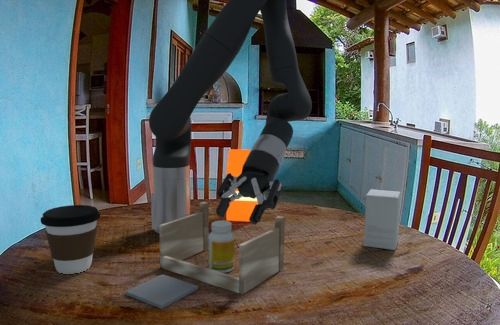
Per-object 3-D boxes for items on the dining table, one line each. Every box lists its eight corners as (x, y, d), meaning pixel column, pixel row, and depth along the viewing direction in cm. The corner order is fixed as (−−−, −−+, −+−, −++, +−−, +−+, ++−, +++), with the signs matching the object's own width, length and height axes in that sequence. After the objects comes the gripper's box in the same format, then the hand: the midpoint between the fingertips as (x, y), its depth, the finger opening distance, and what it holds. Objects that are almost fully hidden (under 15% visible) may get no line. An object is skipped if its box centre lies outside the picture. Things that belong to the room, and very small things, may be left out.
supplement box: (398, 241, 105) (402, 191, 103) (395, 251, 98) (398, 197, 96) (368, 237, 108) (370, 188, 106) (362, 246, 101) (365, 194, 99)
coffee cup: (60, 258, 91) (56, 203, 89) (110, 259, 91) (108, 204, 89) (32, 279, 80) (28, 218, 79) (89, 280, 80) (86, 219, 78)
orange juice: (231, 213, 129) (231, 147, 126) (260, 214, 127) (261, 148, 124) (226, 220, 121) (226, 150, 118) (256, 222, 120) (257, 151, 117)
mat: (125, 294, 75) (125, 291, 75) (162, 277, 82) (162, 274, 82) (161, 308, 70) (161, 305, 70) (198, 289, 77) (198, 286, 77)
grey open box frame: (159, 267, 87) (158, 215, 85) (203, 248, 98) (203, 201, 97) (244, 294, 75) (244, 234, 73) (283, 269, 87) (284, 217, 85)
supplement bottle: (202, 267, 87) (202, 222, 86) (224, 261, 90) (224, 217, 89) (218, 276, 83) (218, 228, 82) (239, 269, 86) (240, 223, 85)
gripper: (232, 146, 98) (200, 204, 90) (286, 150, 90) (256, 215, 83) (245, 166, 103) (216, 222, 96) (297, 171, 95) (270, 234, 88)
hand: (235, 219), depth 89 cm, fingers open, 8 cm apart
